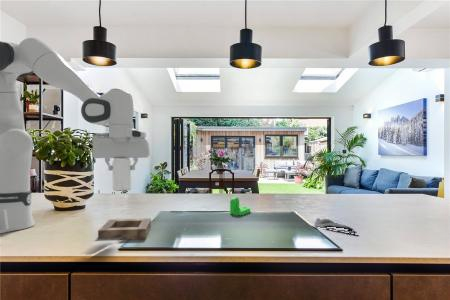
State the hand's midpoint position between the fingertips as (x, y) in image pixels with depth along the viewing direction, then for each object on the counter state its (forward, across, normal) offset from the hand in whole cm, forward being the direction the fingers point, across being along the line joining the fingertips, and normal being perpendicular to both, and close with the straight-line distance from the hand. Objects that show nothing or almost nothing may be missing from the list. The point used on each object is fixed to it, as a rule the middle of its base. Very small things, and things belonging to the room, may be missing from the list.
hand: (121, 170), depth 110 cm
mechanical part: (+25, +51, +31) cm, 65 cm away
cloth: (+26, +84, +2) cm, 88 cm away
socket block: (+24, +1, 0) cm, 24 cm away
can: (+7, 0, 0) cm, 7 cm away
